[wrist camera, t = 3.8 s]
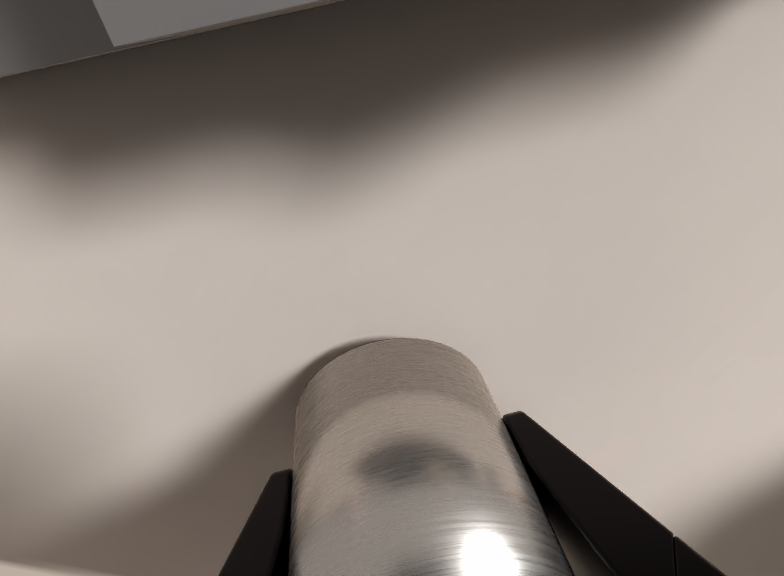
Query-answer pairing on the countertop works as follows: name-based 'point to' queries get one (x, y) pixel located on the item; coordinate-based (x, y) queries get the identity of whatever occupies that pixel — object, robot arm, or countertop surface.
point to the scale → (115, 26)
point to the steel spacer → (411, 472)
